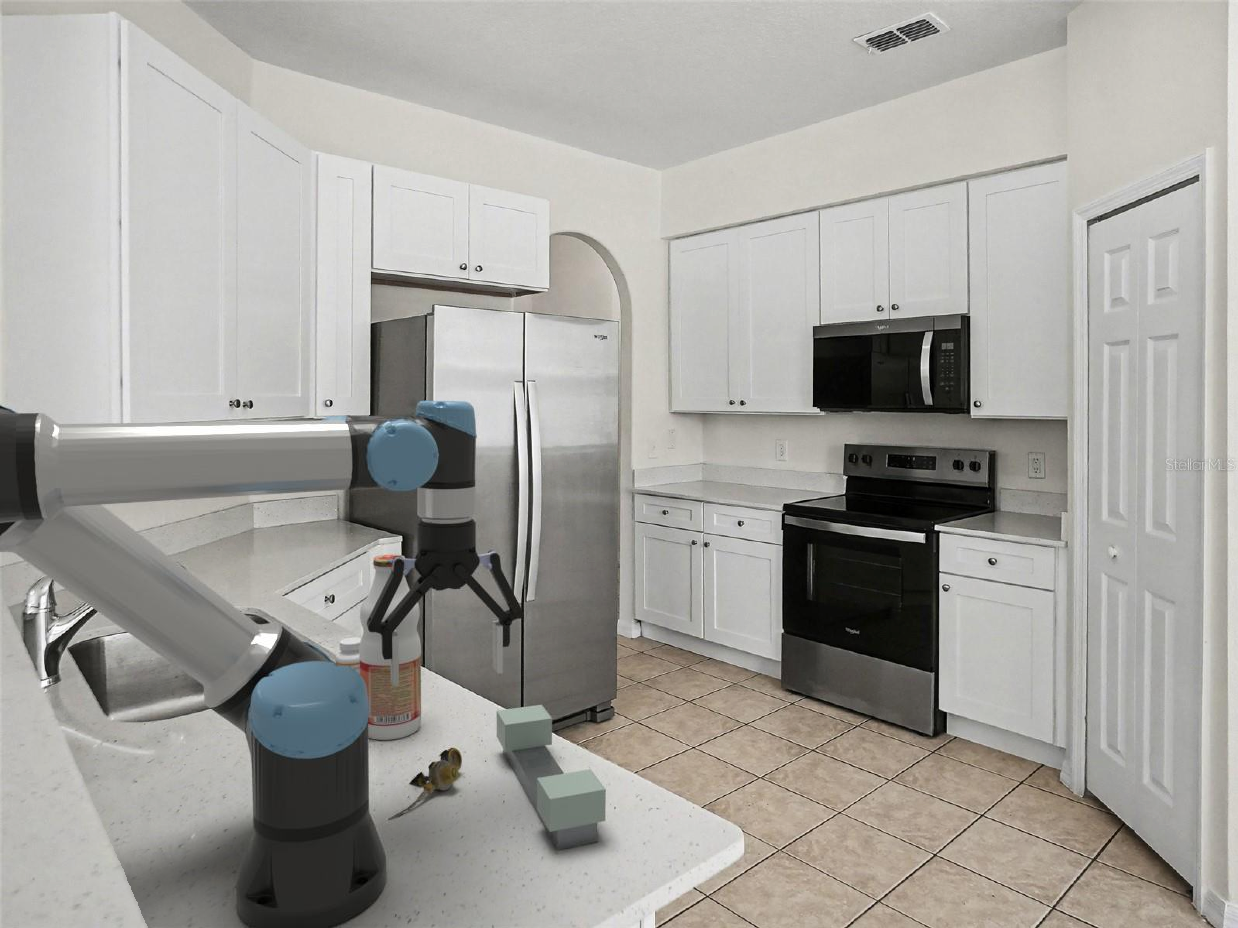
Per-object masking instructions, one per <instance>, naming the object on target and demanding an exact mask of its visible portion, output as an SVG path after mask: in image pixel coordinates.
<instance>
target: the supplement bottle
mask: <svg viewBox="0 0 1238 928" xmlns="http://www.w3.org/2000/svg"><path fill="white" fill-rule="evenodd" d="M361 638H362V637H356V636H355V637H347V638H342V639H341V640H340V641H339V652H338V653H337V654H336V655H335V663H337V665H338V666H342V665H345V666H348V667H350V668H352V669H353V670H355V671H356V672H358V673H359V674H360V659H359V652H360V641H361Z"/></svg>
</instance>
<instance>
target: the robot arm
mask: <svg viewBox="0 0 1238 928" xmlns="http://www.w3.org/2000/svg"><path fill="white" fill-rule="evenodd" d="M415 410H416V411H415V412H414V415H405V416H396V415H395V416H394V415H393V416H388V415H387V416H385V415H349V414H345V415H341V416H340V415H339V416H326V417H324V418H322V419H321V420H269V421H268V420H266V421H265V420H264V421H263V420H261V421H259V420H258V421H256V420H255V421H253V420H252V421H248V420H247V421H194V422H193V421H191V422H186V421H185V422H124V423H123V422H117V423H116V422H115V423H113V422H112V423H111V422H110V423H108V422H107V423H104V422H103V423H102V422H101V423H58V422H57V421H55V420H53V418H51V417H50V416H48V415H47V414H46V413H42V412H34V413H33V412H30V413H29V412H26V413H25V412H23V413H22V412H19V413H18V412H17V411H15V410H13V409H12V408H9V407H6V406H3V405H2V404H0V553H6V552H7V553H13V554H16V555H17V556H18V557H19V558H21V559H23V560H24V561H25V562H27V563H28V564H29V565H31V566H33V567H34V568H35V569H36V570H38V571H40V572H41V573H43V574H44V575H45V576H47V577H48V578H49V579H51V580H52V581H54V582H55V583H57V584H59V586H61V587H62V588H64V589H65V590H67V591H68V592H70V593H71V594H73V595H74V596H75V597H77V598H78V599H79V600H81V601H82V602H83V603H85V604H87V605H88V606H89V607H91V608H92V609H94V610H95V611H97V612H98V613H100V615H102V616H104V617H105V618H107V619H108V620H110V621H111V622H112V623H114V624H115V625H116V626H118V627H120V628H121V629H122V630H124V632H127V633H128V634H129V635H131V636H132V637H134V638H135V639H136V640H138V641H140V642H141V643H142V644H144V645H146V647H148V648H149V649H151V650H152V651H154V652H155V653H156V654H158V655H159V656H161V657H162V658H163V659H165V660H167V661H168V662H169V663H171V664H172V665H173V666H175V667H177V668H178V669H179V670H180V671H182V672H184V673H185V674H187V675H188V676H190V678H192V679H194V680H195V681H197V682H198V683H199V684H201V685H202V686H203V698H204V701H203V702H204V705H205V706H206V707H207V708H209V709H210V710H211V711H213V712H215V713H216V714H217V715H219V716H220V717H222V718H224V719H225V720H227V721H228V722H229V723H230V724H232V725H234V727H236V728H238V729H240V731H242V732H243V733H244V734H245V738H246V742H247V746H248V750H249V753H250V762H251V777H252V778H251V779H252V780H251V785H252V793H251V794H252V813H253V814H252V819H253V820H252V823H253V825H252V827H253V829H252V830H253V831H252V834H251V837H250V840H249V843H248V846H247V849H246V852H245V855H244V859H243V862H242V865H241V867H240V872H239V874H238V877H237V881H236V886H235V887H236V891H235V892H236V911H237V914H238V915H239V917H240V919H241V920H242V921H243V922H244V923H245V924H246V925H247V926H249V927H251V926H252V927H251V928H253V927H255V928H331V927H334V926H336V925H339V924H341V923H344V922H345V921H347V920H350V919H352V918H353V917H355V916H357V915H358V914H360V913H361V912H364V910H365V909H367V908H368V907H369V906H371V905H372V904H373V903H374V902H375V901H376V899H378V897H379V896H380V895H381V894H382V892H383V890H384V888H385V885H386V882H387V855H386V853H385V849H384V845H383V844H382V842H381V838H380V836H379V834H378V831H377V829H376V828H377V827H376V826H375V825H376V824H375V823H374V820H373V817H372V814H371V813H370V798H369V797H370V787H369V785H370V781H369V778H370V776H369V775H370V773H369V772H370V770H369V766H370V765H369V764H370V763H369V760H370V759H369V737H368V718H369V714H370V708H369V707H370V705H369V699H368V696H367V688H366V684H365V682H364V680H363V678H362V677H361V676H360V674H359V673H358V672H356V671H355V670H353V669H352V668H350V667H348V666H345V665H342V666H338V665H337V663H336V662H333V661H332V659H331V658H330V657H329V656H328V655H327V653H326V652H324V651H323V650H322V649H321V648H319V647H317V646H316V645H314V644H311V643H309V642H308V641H304V640H301V639H300V638H298V637H297V636H296V635H295V634H293V633H292V632H290V631H289V630H288V629H286V628H285V627H284V626H282V625H281V624H280V623H278V622H269V623H262V624H260V623H256V622H255V621H254V620H253V619H251V618H250V617H249V616H247V615H246V614H245V613H243V612H242V611H241V610H240V609H238V607H235V606H234V605H233V604H232V603H230V601H227V599H225V598H224V597H222V596H221V595H220V594H219V593H217V592H216V591H215V590H213V589H212V588H211V587H209V586H208V585H207V584H205V583H204V582H203V581H202V580H200V579H199V578H198V577H196V576H195V575H194V574H192V572H190V571H189V570H187V569H186V568H184V566H182V565H181V564H179V563H178V562H177V561H176V560H174V559H173V558H172V557H170V556H169V555H167V554H166V553H165V552H164V551H163V550H161V549H160V548H159V547H157V546H156V545H155V544H153V543H152V542H151V541H149V539H147V538H146V537H144V536H143V535H141V533H139V532H138V531H136V530H135V529H134V528H133V527H131V526H130V525H128V524H127V523H126V522H125V521H123V520H122V519H121V518H119V517H118V516H117V515H116V514H114V513H113V512H112V511H111V510H109V509H108V508H106V507H105V506H104V505H114V504H115V505H118V504H131V503H148V502H164V501H165V502H166V501H180V500H198V499H214V498H228V497H229V498H231V497H232V498H233V497H246V496H247V497H248V496H259V495H260V496H261V495H262V496H264V495H281V494H297V493H312V492H313V493H314V492H315V493H316V492H328V491H329V492H330V491H345V490H351V491H352V490H353V491H355V490H359V491H360V490H374V489H385V490H388V491H391V492H409V491H413V490H415V489H417V493H416V494H417V496H416V498H417V499H416V500H417V507H416V508H417V509H416V510H417V513H416V514H417V516H418V517H419V518H421V519H420V520H419V521H418V522H417V523H416V524H417V525H416V526H417V527H416V530H417V531H416V532H417V536H416V537H417V538H416V539H417V552H416V555H415V557H414V558H406V557H405V558H401V557H400V556H395V557H394V558H393V560H392V570H391V574H390V576H389V578H388V580H387V582H386V584H385V586H384V588H383V590H382V592H381V594H380V596H379V598H378V600H377V602H376V604H375V606H374V608H373V610H372V612H371V614H370V616H369V618H368V620H367V627H368V630H369V631H370V632H372V633H373V632H376V633H379V634H381V635H382V655H383V658H384V660H386V659H391V681H392V685H393V686H397V685H399V641H398V634H397V631H396V630H395V629H396V628H397V627H398V626H399V624H400V623H401V622H402V621H403V619H404V618H405V617H406V616H407V615H408V613H409V612H410V611H411V610H412V608H413V607H414V606H415V605H416V603H417V602H418V603H419V602H420V600H421V598H422V597H423V596H426V594H427V593H428V591H429V590H430V589H432V590H435V591H445V590H447V589H451V590H460V589H461V588H462V587H464V586H466V585H467V586H468V587H469V588H470V590H471V591H473V592H474V594H475V595H476V596H477V597H478V599H480V600H481V601H482V603H483V604H485V606H487V609H489V610H490V611H491V612H492V613H493V614H494V615H495V616H496V618H497V619H498V620H493V621H492V668H493V670H494V671H495V673H496V674H497V675H498V674H504V672H503V669H504V668H503V667H504V666H503V665H504V664H503V663H504V661H503V660H504V658H503V657H504V655H503V654H504V651H503V650H504V648H506V647H507V648H508V647H509V646H510V643H511V625H512V624H513V621H515V620H517V619H518V620H520V619H522V618H524V615H525V614H524V611H523V609H522V606H521V604H520V603H519V602H518V599H517V597H516V596H515V592H514V591H513V589H512V587H511V586H510V583H509V582H508V580H507V578H506V576H505V574H504V572H503V570H502V565H501V564H502V563H501V557H500V554H499V553H497V552H496V551H495V550H493V549H491V550H489V551H487V553H481V554H478V552H477V544H476V543H477V541H476V540H477V538H476V537H477V534H476V533H477V526H476V525H477V522H476V521H475V520H474V518H472V517H474V516H475V515H477V509H476V506H477V504H476V503H477V499H476V496H477V495H476V493H477V490H476V488H477V487H476V460H477V459H476V458H477V457H476V455H477V454H476V453H477V452H476V451H477V444H476V443H477V437H478V436H477V427H476V424H477V423H476V415H475V409H474V406H473V405H472V404H471V403H470V402H468V401H463V400H459V401H458V400H420V401H418V402H417V404H416V409H415ZM480 564H481V565H483V567H484V568H485V569H486V570H489V572H490V574H491V576H492V578H493V580H494V581H495V584H496V585H497V588H498V590H499V592H500V593H501V595H502V597H503V600H504V601H505V602H506V604H507V605H506V606H507V607H508V609H507V610H504V609H503V608H502V607H501V606H500V605H499V604H498V603H497V602H496V601H495V599H494V598H493V597H492V596H491V595H490V594H489V593H488V591H486V590H485V589H484V588H483V586H482V585H481V584H480V583H479V582H478V581H477V580H476V578H475V577H474V576H473V574H474V573H475V572H476V571H477V569H478V567H479V565H480ZM411 569H415V570H416V572H417V573H418V574H419V577H418V578H417V579H416V580H415V582H414V583H413V585H412V587H411V588H409V589H410V591H409V592H408V593H407V594H406V595H405V597H404V598H403V599H402V600H401V602H400V603H399V604H398V605H397V606H396V608H395V609H394V610H393V611H392V612H391V614H390V615H389V616H388V617H387V619H386V620H385V621H384V622H382V619H383V617H384V615H385V613H386V611H387V609H388V607H389V605H390V603H391V601H392V599H393V597H394V595H395V593H396V591H397V589H398V587H399V585H400V583H401V581H402V577H403V575H405V576H408V574H409V573H410V571H411Z"/></svg>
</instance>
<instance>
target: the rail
mask: <svg viewBox="0 0 1238 928" xmlns="http://www.w3.org/2000/svg"><path fill="white" fill-rule="evenodd" d="M502 752H503V755H504V756H505V757H506V759H507V761H508V763H509V765H510V767H511V769H512V771H513V772H514V774H515V775H516V778H517V779H518V781H519V783H520V784H521V786H522V788H523V790H524V792H525V794H526V795H527V798H528V799H529V801H530V804H532V807H533V808H534V810H535V812H536V814H537V815H538V817H539V819H540V821H541V823H542V824H543V826H544V828H545V830H546V833H548V836H549V838H550V839H551V841H552V843H553V844H554V846H555V848H556V850H557V851H561V850H567V849H570V848H575V847H580V846H586V845H591V844H596V843H598V826H599V825H598V823H599V822H598V823H592V824H587V825H582V826H577V827H572V828H567V829H561V830H556V831H551V832H550V831H549V830H548V828H547V826H546V824H545V822H544V821H543V819H542V817H541V815H540V813H539V812H538V810H537V778H541V777H547V776H553V775H559V774H565V773H564V771H563V769H562V768H561V767H560V765H559V764H558V762H557V761H556V759H555V757H554V756H553V755H552V753H551V752H550V750H549V749H548V748H547V745H546V746H540V747H533V748H526V749H520V750H513V751H507V752H505V751H504V749H503V748H502Z"/></svg>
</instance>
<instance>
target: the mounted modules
mask: <svg viewBox="0 0 1238 928" xmlns="http://www.w3.org/2000/svg"><path fill="white" fill-rule="evenodd" d="M496 738H497V739H498V741H499V743H500V745H501V747H502V750H503V749H504V751H505V752H507V751H513V750H520V749H526V748H533V747H540V746H546V747H547V746H551V745H553V744H552V743H553V718H552V716H551V715H550V713H549V712H548V711H547V710H546V709H545V707H544V706H543V705H542V704H537V705H536V704H535V705H530V706H523V707H515V708H507V709H499V710H496ZM606 790H607V789H606V788H605V786H604V785H603V783H602V782H601V781H600V780H599V778H598V776H596V774H595V773H594V771H592V769H584V770H578V771H571V772H566V773H564V774H559V775H553V776H547V777H541V778H537V810H538V812H539V813H540V815H541V817H542V819H543V821H544V822H545V824H546V826H547V828H548V830H549V831H550V832H551V831H556V830H561V829H567V828H572V827H577V826H582V825H587V824H592V823H601V822H605V821H606V808H607V807H606V803H607V802H606V801H607V800H606V795H607V793H606Z"/></svg>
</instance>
